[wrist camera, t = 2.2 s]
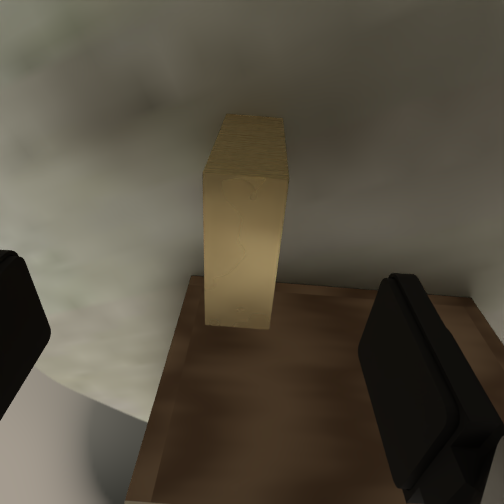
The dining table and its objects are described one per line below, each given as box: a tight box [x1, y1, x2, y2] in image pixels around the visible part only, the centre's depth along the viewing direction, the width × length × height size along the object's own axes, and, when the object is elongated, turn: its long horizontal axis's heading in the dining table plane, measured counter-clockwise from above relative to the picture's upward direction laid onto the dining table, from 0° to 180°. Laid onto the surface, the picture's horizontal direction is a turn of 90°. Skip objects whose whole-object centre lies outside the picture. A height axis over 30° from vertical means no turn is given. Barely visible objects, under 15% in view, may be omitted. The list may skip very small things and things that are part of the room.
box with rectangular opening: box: [124, 276, 504, 504], centre depth 19 cm, size 16×14×12 cm
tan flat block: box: [203, 114, 289, 330], centre depth 14 cm, size 2×6×6 cm, turn 176°
